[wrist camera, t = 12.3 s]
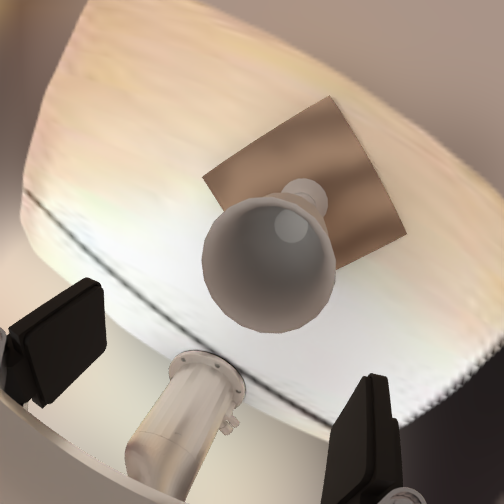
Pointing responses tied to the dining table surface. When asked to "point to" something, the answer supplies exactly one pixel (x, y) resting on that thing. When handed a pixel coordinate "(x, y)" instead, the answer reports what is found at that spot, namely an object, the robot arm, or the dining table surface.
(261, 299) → the chalice
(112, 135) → the dining table surface
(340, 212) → the serving board
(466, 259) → the dining table surface
